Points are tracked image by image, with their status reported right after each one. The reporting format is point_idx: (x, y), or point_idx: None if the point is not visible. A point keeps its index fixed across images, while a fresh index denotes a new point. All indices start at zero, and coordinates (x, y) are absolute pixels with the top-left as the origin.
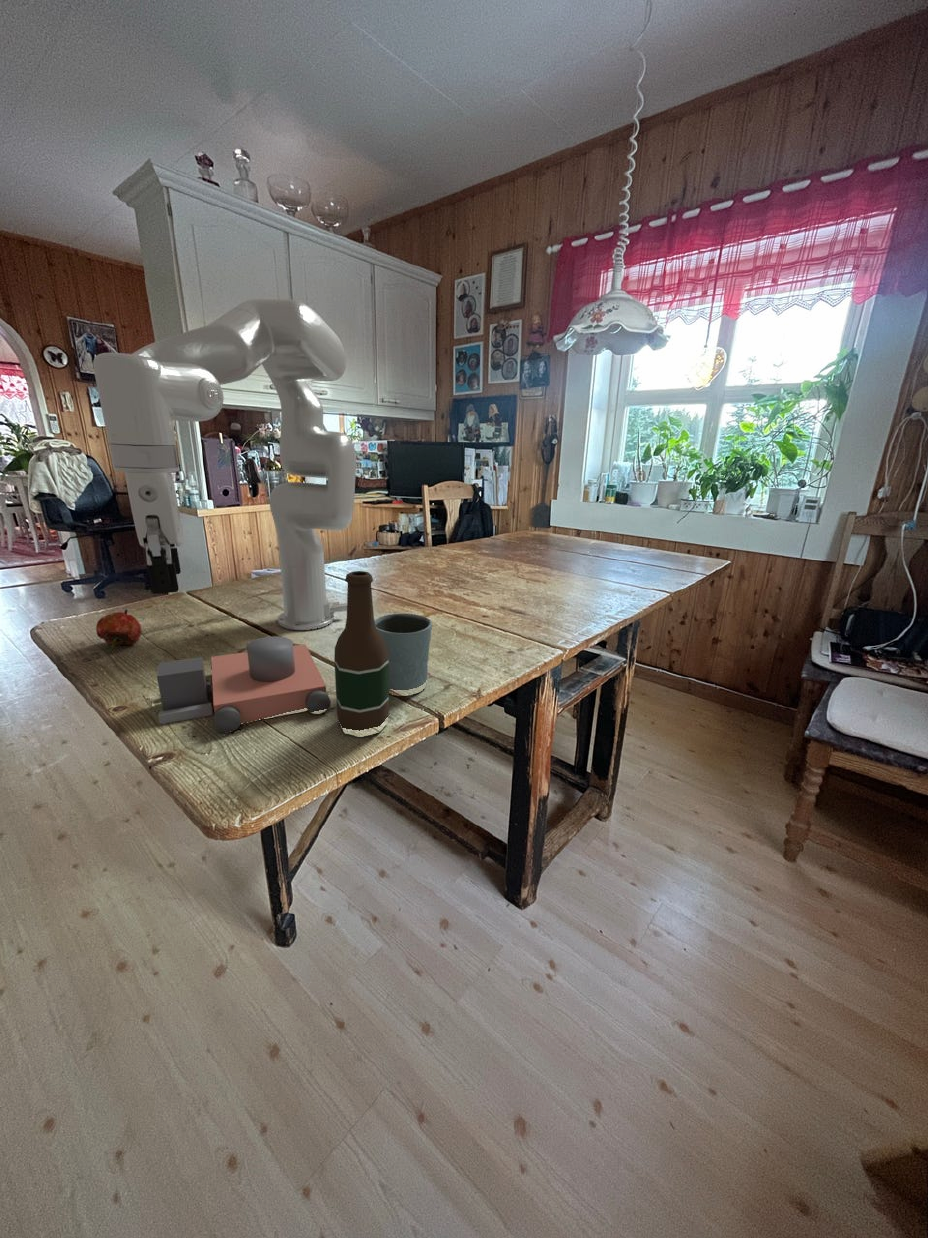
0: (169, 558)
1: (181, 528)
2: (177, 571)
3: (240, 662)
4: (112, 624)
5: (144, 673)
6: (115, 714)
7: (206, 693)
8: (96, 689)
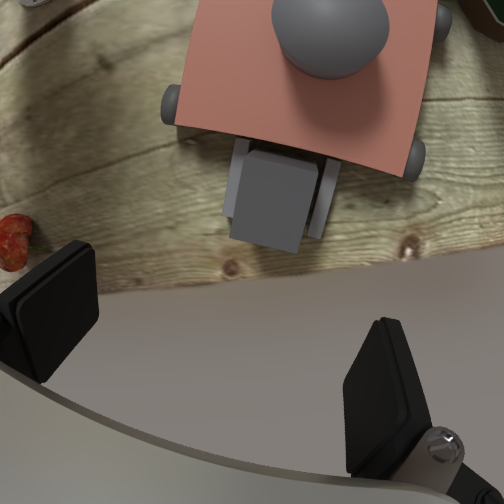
0: (459, 461)
1: (23, 497)
2: (89, 257)
3: (236, 76)
4: (17, 259)
5: (124, 221)
6: (246, 275)
7: (308, 161)
8: (152, 282)
